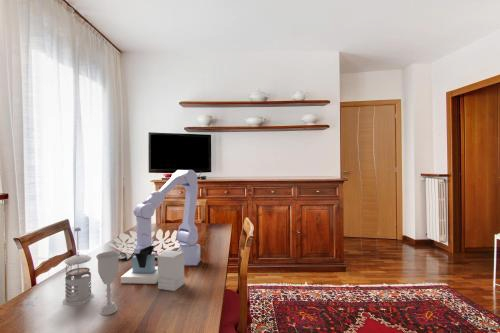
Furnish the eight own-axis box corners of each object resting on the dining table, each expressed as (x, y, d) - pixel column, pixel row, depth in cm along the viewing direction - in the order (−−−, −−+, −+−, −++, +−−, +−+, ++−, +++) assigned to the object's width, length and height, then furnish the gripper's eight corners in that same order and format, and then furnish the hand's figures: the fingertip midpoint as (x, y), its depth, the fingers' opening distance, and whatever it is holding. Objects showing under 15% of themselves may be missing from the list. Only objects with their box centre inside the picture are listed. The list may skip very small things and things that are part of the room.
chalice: (102, 305, 95) (102, 251, 95) (123, 304, 96) (123, 250, 96) (92, 317, 88) (91, 258, 88) (115, 316, 89) (114, 258, 88)
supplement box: (185, 283, 112) (184, 251, 112) (174, 291, 105) (173, 257, 105) (168, 281, 115) (168, 249, 115) (157, 288, 108) (156, 255, 108)
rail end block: (155, 271, 120) (154, 254, 120) (151, 274, 117) (151, 257, 117) (136, 271, 121) (136, 254, 121) (132, 274, 117) (132, 257, 117)
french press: (70, 308, 94) (69, 232, 93) (53, 299, 100) (52, 228, 100) (100, 296, 102) (99, 226, 102) (82, 289, 108) (81, 222, 108)
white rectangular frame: (166, 272, 125) (166, 266, 125) (155, 283, 113) (155, 277, 113) (134, 271, 125) (134, 266, 125) (120, 283, 113) (120, 276, 113)
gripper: (142, 228, 126) (142, 259, 126) (126, 237, 112) (126, 272, 112) (157, 228, 126) (158, 259, 126) (143, 237, 111) (144, 272, 111)
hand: (144, 265), depth 119 cm, fingers closed on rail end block, 3 cm apart
